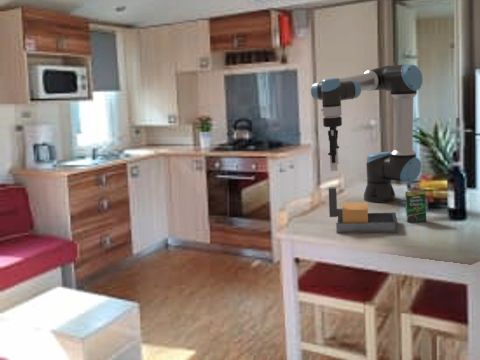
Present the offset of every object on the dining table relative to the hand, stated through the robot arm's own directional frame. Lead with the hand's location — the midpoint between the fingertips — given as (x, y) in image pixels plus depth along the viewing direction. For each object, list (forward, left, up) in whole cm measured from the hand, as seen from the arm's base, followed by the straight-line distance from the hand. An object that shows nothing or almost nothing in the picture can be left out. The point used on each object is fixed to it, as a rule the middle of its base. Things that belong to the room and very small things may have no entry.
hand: (334, 167), depth 235 cm
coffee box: (-32, +7, -25) cm, 42 cm away
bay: (-10, +8, -25) cm, 28 cm away
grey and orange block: (-4, +6, -24) cm, 25 cm away
